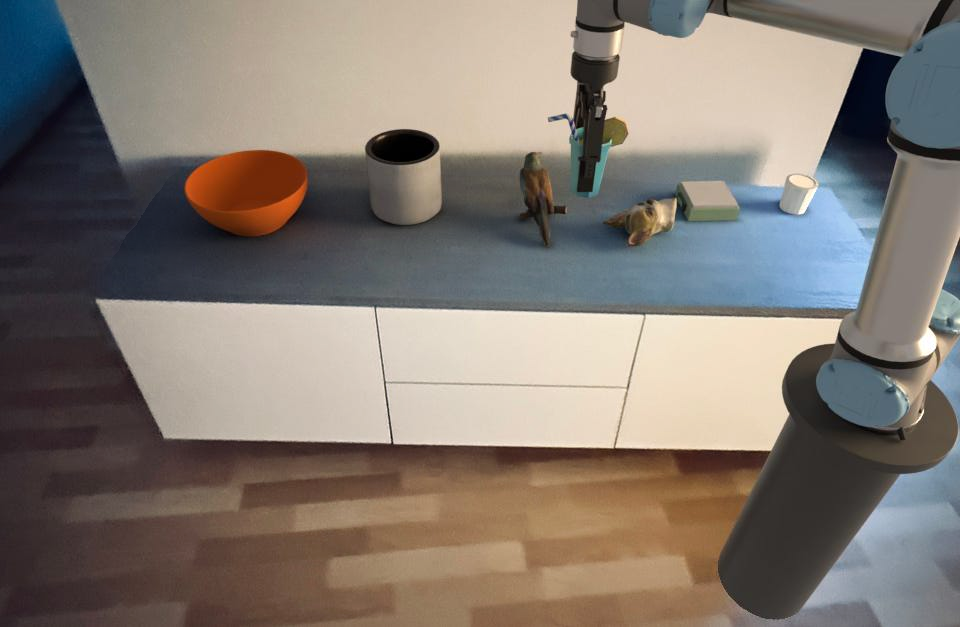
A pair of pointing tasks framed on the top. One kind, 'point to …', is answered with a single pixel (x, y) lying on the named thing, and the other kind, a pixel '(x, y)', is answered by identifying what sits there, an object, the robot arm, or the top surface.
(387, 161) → the planter
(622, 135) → the cup
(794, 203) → the shot glass
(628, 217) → the ceramic sculpture
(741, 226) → the top surface
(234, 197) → the bowl
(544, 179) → the bird figurine
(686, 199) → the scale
